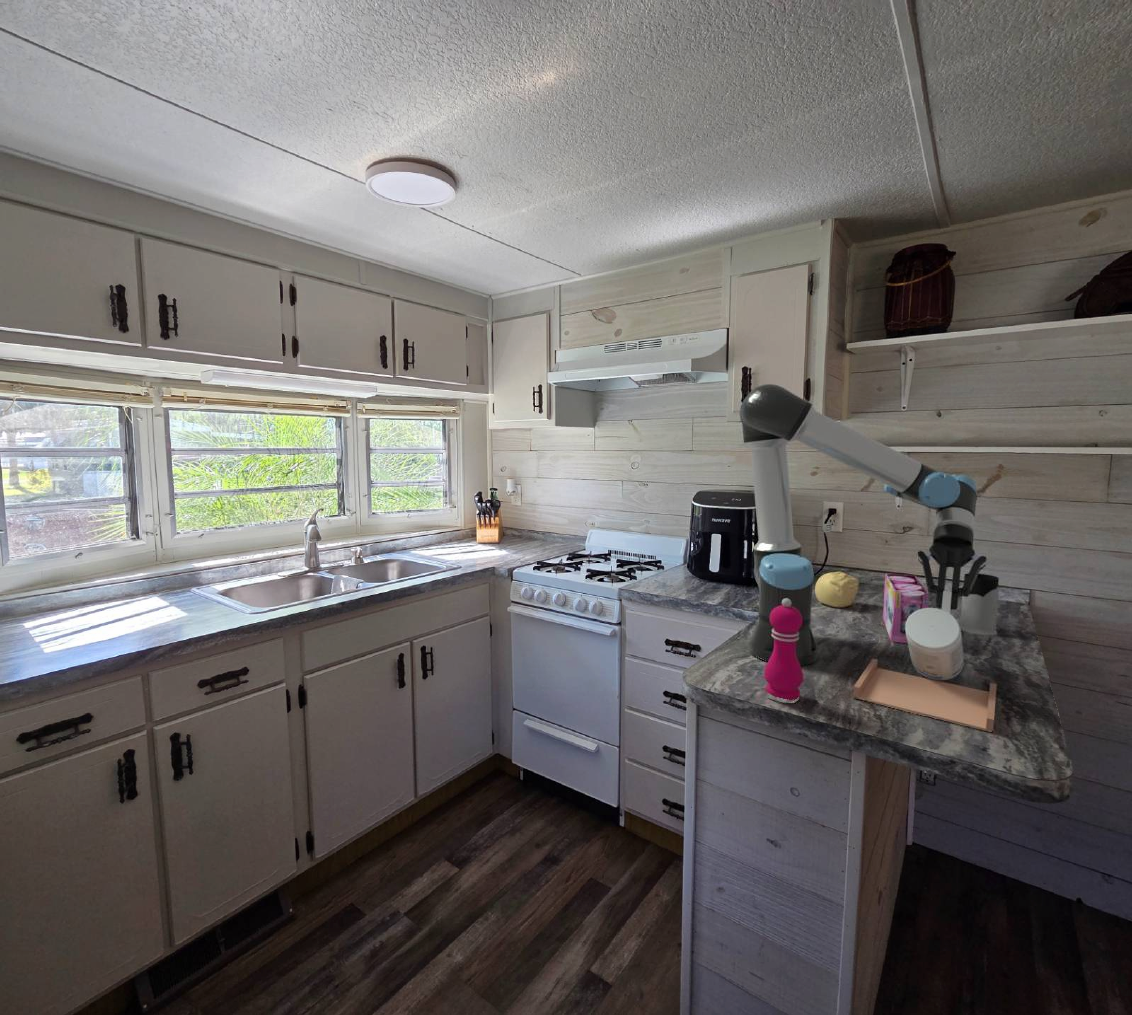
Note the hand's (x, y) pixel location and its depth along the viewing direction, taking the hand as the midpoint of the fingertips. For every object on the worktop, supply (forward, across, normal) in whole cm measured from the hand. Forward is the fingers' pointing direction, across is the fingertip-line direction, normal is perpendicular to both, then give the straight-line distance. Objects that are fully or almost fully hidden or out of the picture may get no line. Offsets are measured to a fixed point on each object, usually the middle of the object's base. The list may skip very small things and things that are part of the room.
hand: (945, 620), depth 117 cm
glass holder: (-25, -3, -44) cm, 51 cm away
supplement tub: (+5, +1, -10) cm, 11 cm away
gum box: (-15, +11, -34) cm, 39 cm away
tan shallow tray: (+17, +2, -2) cm, 17 cm away
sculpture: (-27, +31, -46) cm, 62 cm away
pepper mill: (+29, +25, +10) cm, 39 cm away
